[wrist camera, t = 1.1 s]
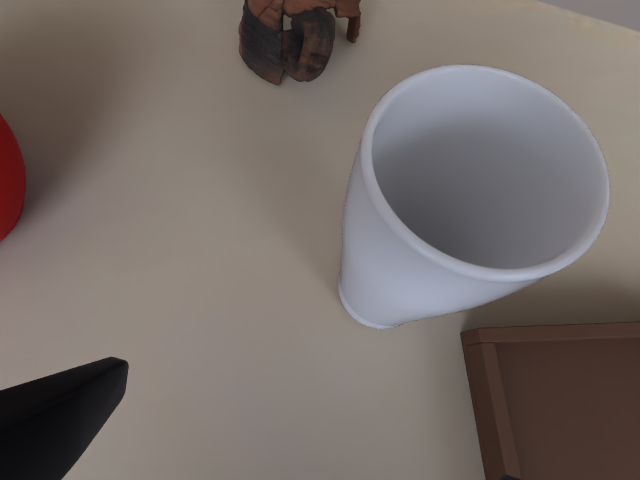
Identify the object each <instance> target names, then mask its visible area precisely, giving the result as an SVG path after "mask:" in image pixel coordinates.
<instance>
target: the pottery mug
mask: <svg viewBox="0 0 640 480" xmlns="http://www.w3.org/2000/svg"><path fill="white" fill-rule="evenodd" d="M360 1H361V0H245V4H244V6H243V16H242V20H241V22H240V25H239V36H240V45H239V53H240V55H241V57H242V59H243V61H244V62H245V63H246V64H247V66H248V67H249V68H250V69H251V70H253V71H254V72H255V73H256V74H257V75H259V76H260V77H261V78H263V79H265V80H267V81H269V82H271V83H273V84H275V85H280V83H281V76H282V75H283V72H284V68H285V70H286V72H287V73H288V74H289V76H290V77H292V78H293V79H295V80H296V81H299V82H303V81H306V82H310V81H312V80H314V79H316V78H317V77H318V76H320V74H321V73H322V72H323V71H324V69H325V67H326V65H327V63H328V60H329V58H330V55H331V52H332V48H333V41H334V38H335V19H334V17H333V15H332V14H331V13H329V12H327V11H326V9H330V8H334V11H335V15H336V17H337V18H341V17H346V18H348V19H349V23H348V29H347V34H346V37H347V40H348V41H350V42H351V43H355V41H356V38H357V37H358V35H359V28H360V15H361V12H360V9H359V3H360ZM284 14H285V15H287V16H288V17H291V18H292V20H291V28H292V29H290V30H286V31H284V30H283V16H284Z"/></svg>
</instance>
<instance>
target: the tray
mask: <svg viewBox="0 0 640 480" xmlns="http://www.w3.org/2000/svg"><path fill="white" fill-rule="evenodd" d="M461 340H462V346H463V351H464V357H465V363H466V368H467V374H468V380H469V386H470V391H471V397H472V403H473V408H474V414H475V420H476V426H477V431H478V437H479V443H480V449H481V454H482V460H483V466H484V471H485V477H486V480H499V479H500V477H501V476H502V475H509V476H513V477H516V478H519V479H522V480H640V322H620V323H594V324H568V325H542V326H516V327H490V328H476V329H473V330H469V331H466V332H463V333H461Z"/></svg>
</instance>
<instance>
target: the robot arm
mask: <svg viewBox="0 0 640 480" xmlns="http://www.w3.org/2000/svg"><path fill="white" fill-rule="evenodd" d="M128 368H129V365H128V362H127V361H125V360H122V359H119V358H115V357H108V358H105V359H102V360H98V361H95V362H92V363H88V364H85V365H82V366H79V367H75V368H72V369H69V370H66V371H62V372H59V373H56V374H53V375H49V376H46V377H43V378H40V379H36V380H33V381H30V382H27V383H23V384H20V385H17V386H13V387H10V388H7V389H4V390H0V480H61V479H62V478H63V477H64V476H65V475H66V474H67V472H68V471H69V470H70V469H71V468H72V466H73V465H74V464H75V463H76V462H77V460H78V459H79V458H80V456H81V455H82V454H83V453H84V451H85V450H86V448H87V447H88V446H89V444H90V443H91V442H92V440H93V439H94V437H95V436H96V435H97V433H98V432H99V431H100V429H101V428H102V426H103V425H104V424H105V422H106V421H107V419H108V418H109V417H110V415H111V414H112V413H113V411H114V410H115V408H116V407H117V406H118V404H119V403H120V401H121V400H122V398H123V396H124V394H125V390H126V383H127V376H128ZM499 480H522V479H519V478H516V477H513V476H509V475H502V476H501V477H500V479H499Z"/></svg>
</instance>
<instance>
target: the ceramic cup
mask: <svg viewBox="0 0 640 480" xmlns="http://www.w3.org/2000/svg"><path fill="white" fill-rule="evenodd" d="M25 189H26V177H25V165H24V160H23V157H22V154H21V151H20V148H19V146H18V143H17V140H16V138H15V136H14V134H13V132H12V130H11V129H10V127H9V125H8V124H7V123H6V121H5V120H4V118H3V117H2V116H1V114H0V241H1V240H2V239H3V238H5V237H6V236H7V235H8V234H9V232H10V231H11V230H12V229H13V228H14V226H15V225H16V223H17V221H18V220H19V218H20V215H21V213H22V209H23V203H24V195H25Z"/></svg>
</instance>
